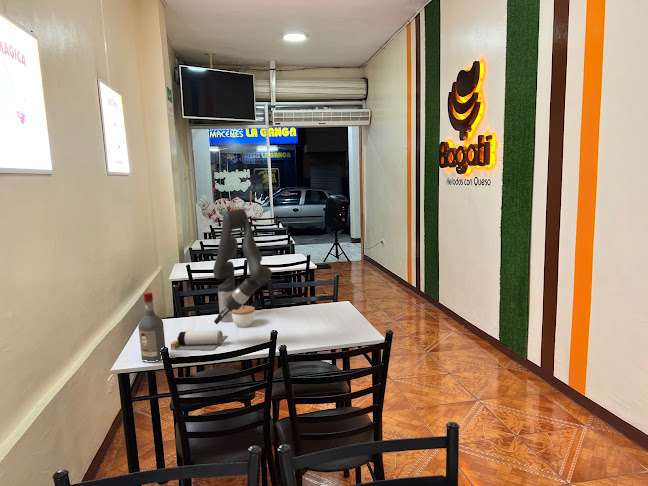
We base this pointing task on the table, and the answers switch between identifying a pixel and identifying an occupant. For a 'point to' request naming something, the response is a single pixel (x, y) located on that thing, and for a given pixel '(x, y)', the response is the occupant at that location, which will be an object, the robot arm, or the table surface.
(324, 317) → the table surface
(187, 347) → the mat
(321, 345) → the table surface
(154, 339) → the liquor
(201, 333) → the travel mug
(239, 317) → the lidded bowl
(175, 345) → the rail
